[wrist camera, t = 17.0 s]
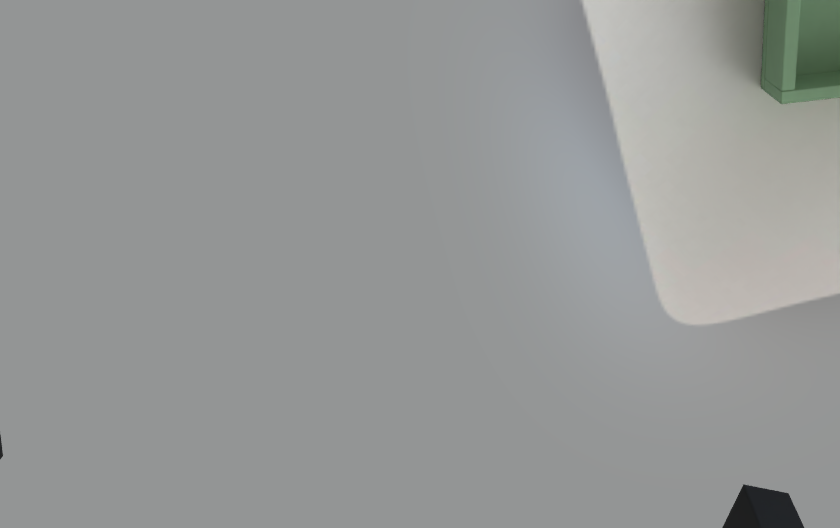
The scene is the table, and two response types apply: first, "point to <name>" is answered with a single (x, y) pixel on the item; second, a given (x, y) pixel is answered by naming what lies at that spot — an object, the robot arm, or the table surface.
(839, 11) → the tray
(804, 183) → the table surface
